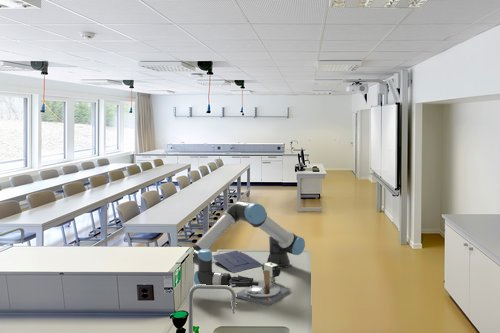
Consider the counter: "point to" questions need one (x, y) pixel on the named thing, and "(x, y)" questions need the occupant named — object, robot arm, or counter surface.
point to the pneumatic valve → (271, 270)
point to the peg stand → (263, 288)
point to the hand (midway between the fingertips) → (264, 283)
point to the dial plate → (263, 300)
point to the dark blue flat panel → (236, 261)
